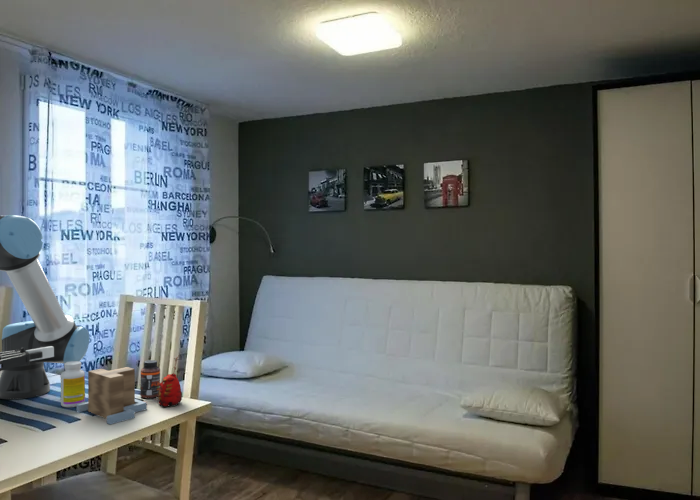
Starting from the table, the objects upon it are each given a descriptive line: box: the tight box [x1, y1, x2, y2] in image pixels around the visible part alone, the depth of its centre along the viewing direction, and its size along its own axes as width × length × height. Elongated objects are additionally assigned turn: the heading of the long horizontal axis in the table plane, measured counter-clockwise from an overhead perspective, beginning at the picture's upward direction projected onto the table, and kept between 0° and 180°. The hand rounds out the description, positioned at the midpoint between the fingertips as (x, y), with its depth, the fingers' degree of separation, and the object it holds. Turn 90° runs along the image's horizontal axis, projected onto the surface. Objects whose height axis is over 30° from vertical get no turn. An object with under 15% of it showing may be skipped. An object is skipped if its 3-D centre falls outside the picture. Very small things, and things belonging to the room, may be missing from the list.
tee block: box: [87, 366, 136, 420], centre depth 167 cm, size 12×10×12 cm
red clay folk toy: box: [157, 354, 183, 408], centre depth 175 cm, size 8×7×15 cm
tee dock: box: [76, 398, 148, 425], centre depth 167 cm, size 18×14×2 cm
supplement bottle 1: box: [60, 361, 86, 408], centre depth 173 cm, size 7×7×13 cm
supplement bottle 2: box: [139, 359, 161, 399], centre depth 183 cm, size 6×6×11 cm
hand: (52, 351), depth 152 cm, fingers closed
